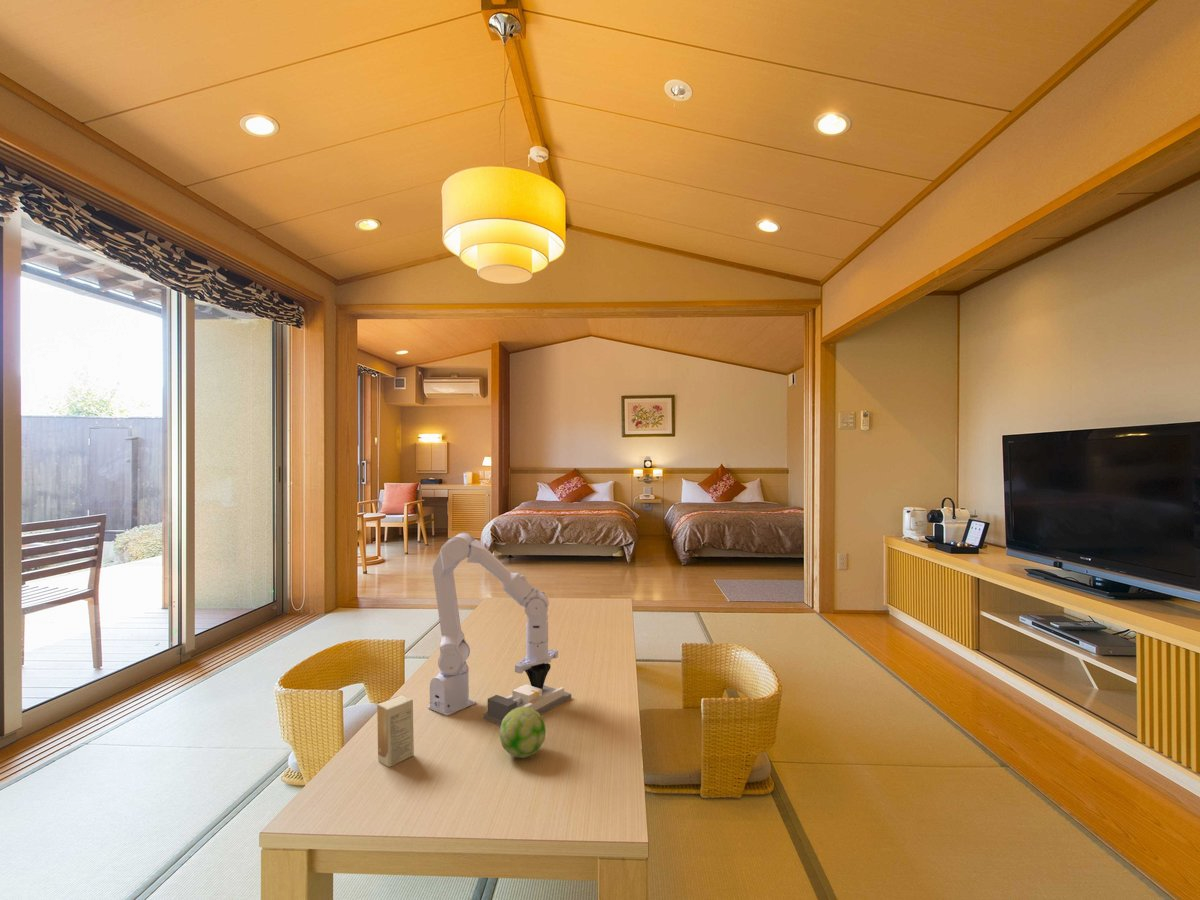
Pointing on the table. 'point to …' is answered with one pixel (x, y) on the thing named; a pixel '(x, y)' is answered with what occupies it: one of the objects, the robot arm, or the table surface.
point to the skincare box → (395, 730)
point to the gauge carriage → (525, 694)
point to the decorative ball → (522, 732)
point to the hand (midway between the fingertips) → (537, 692)
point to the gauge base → (504, 705)
